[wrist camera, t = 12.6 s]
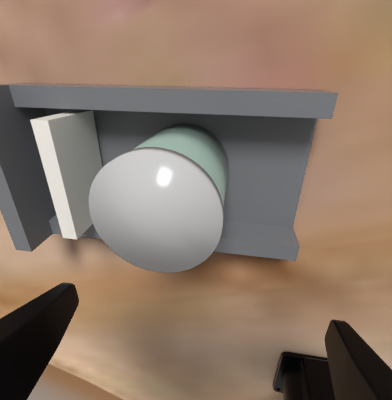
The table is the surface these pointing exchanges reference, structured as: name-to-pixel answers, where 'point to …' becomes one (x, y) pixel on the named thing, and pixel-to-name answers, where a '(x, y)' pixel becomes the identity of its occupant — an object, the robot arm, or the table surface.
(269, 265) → the table surface
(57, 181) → the plate
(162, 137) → the jar
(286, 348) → the table surface
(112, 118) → the pusher lane
